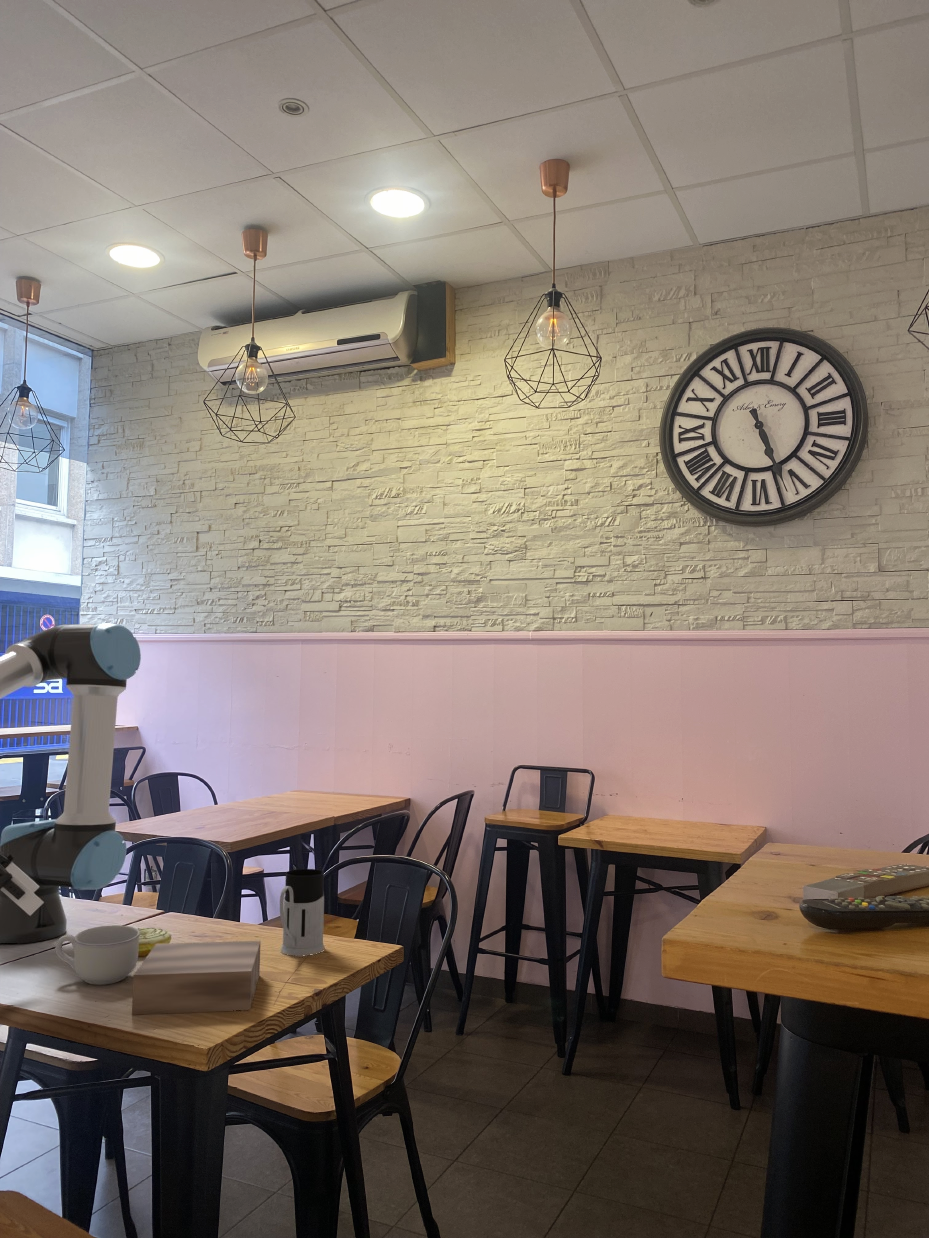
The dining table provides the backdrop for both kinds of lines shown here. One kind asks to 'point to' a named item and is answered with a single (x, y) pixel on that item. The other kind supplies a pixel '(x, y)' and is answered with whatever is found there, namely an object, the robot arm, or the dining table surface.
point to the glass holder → (302, 912)
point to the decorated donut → (151, 939)
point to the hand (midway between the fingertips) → (35, 900)
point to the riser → (197, 977)
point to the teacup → (102, 953)
